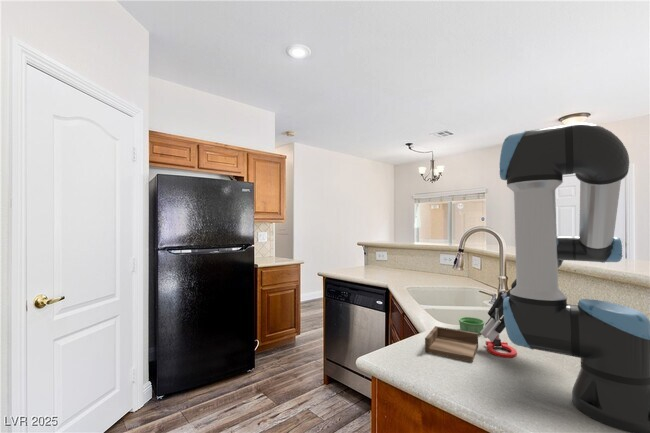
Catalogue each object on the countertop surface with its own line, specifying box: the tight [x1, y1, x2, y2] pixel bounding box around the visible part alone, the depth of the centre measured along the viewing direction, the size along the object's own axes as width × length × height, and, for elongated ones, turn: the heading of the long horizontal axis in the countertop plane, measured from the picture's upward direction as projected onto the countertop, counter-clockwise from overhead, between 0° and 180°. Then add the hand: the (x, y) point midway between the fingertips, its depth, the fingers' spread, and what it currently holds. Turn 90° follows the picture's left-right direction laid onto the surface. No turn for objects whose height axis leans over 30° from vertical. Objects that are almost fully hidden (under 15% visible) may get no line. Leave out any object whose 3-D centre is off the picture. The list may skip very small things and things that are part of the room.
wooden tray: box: [424, 325, 479, 363], centre depth 103 cm, size 14×14×4 cm
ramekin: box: [458, 316, 485, 336], centre depth 120 cm, size 9×9×4 cm
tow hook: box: [485, 308, 518, 359], centre depth 100 cm, size 8×13×9 cm
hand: (486, 336), depth 102 cm, fingers open, 2 cm apart
